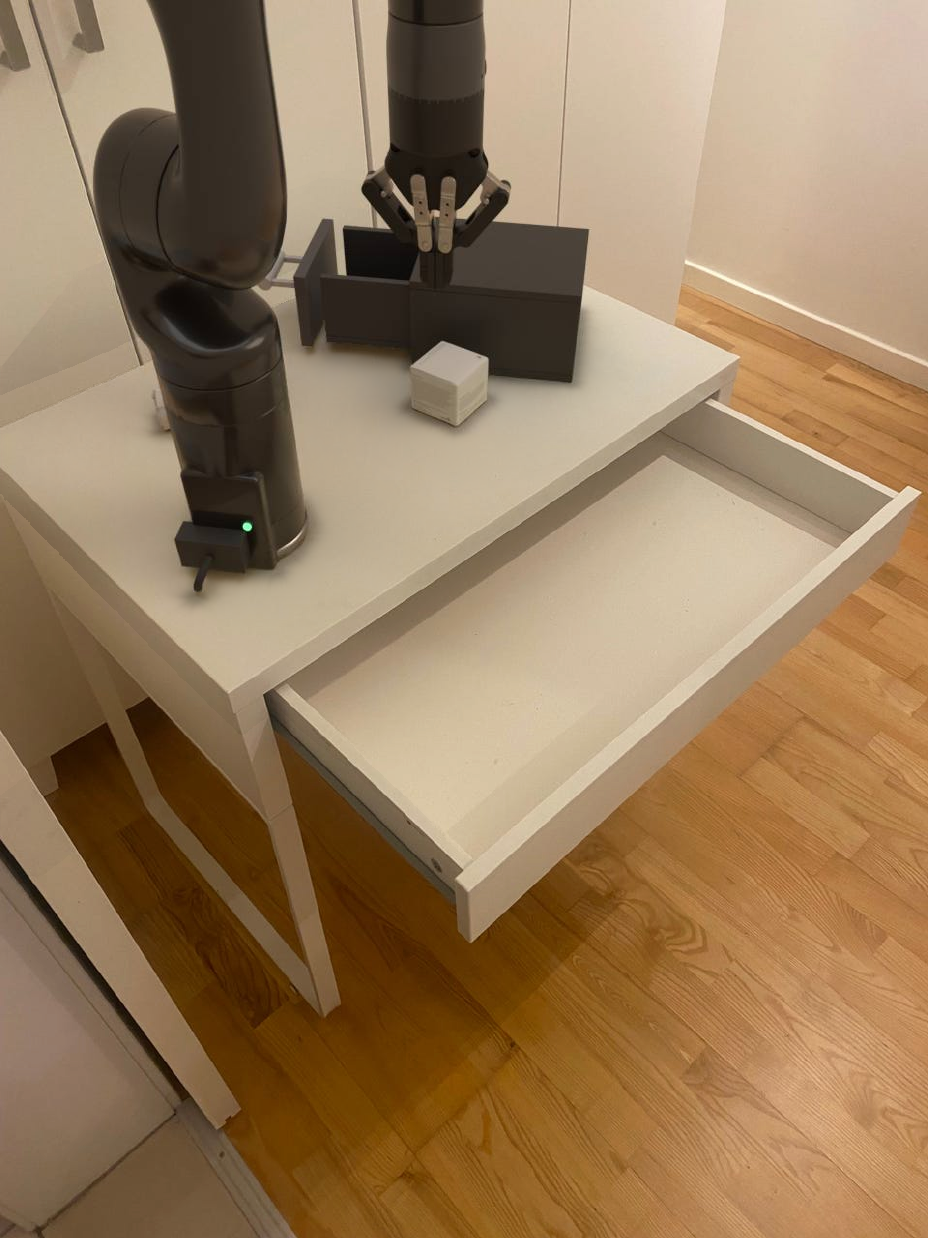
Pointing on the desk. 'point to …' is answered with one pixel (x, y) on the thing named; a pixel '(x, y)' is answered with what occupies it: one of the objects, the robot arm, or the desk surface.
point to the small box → (449, 383)
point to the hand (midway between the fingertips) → (437, 285)
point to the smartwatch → (160, 408)
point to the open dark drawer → (352, 287)
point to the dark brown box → (507, 300)
